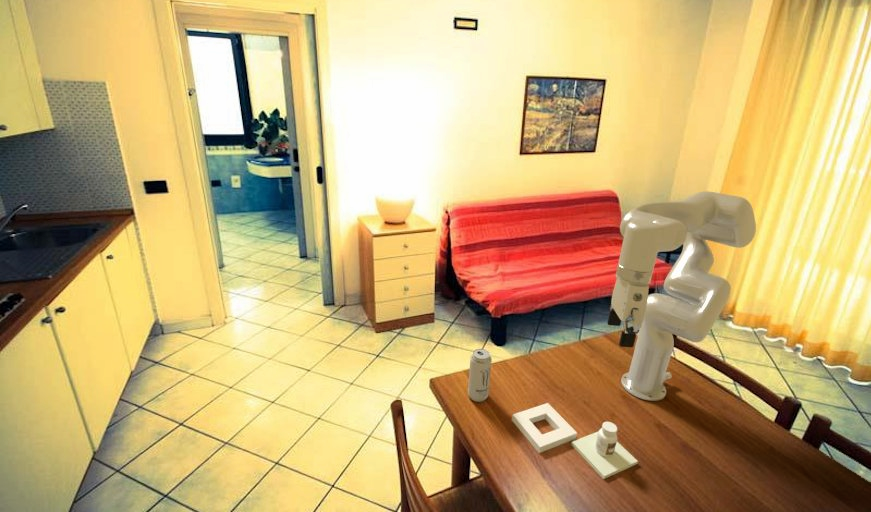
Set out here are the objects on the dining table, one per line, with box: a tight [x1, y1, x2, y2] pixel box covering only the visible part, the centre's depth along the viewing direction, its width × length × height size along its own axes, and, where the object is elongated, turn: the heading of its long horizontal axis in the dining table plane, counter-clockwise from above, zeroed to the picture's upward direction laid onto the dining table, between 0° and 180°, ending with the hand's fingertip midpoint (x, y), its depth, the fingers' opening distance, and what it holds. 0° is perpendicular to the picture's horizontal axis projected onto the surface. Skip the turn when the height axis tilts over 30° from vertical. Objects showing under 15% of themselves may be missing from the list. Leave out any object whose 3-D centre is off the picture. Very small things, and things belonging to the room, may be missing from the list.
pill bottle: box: [595, 421, 618, 457], centre depth 101 cm, size 4×4×8 cm
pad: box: [571, 430, 638, 480], centre depth 102 cm, size 11×11×1 cm
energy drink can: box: [467, 348, 492, 403], centre depth 118 cm, size 6×6×15 cm
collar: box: [511, 402, 578, 454], centre depth 109 cm, size 12×12×2 cm
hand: (619, 335), depth 102 cm, fingers open, 9 cm apart
